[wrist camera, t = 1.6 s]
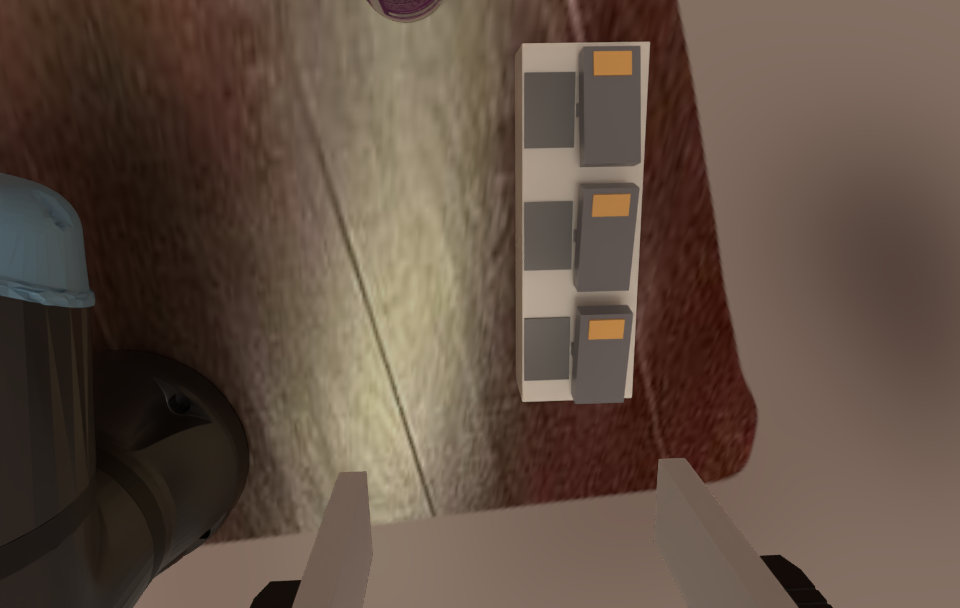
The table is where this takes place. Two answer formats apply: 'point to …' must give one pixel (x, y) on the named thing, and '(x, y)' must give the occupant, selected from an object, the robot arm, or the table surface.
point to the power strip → (557, 216)
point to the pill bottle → (404, 9)
